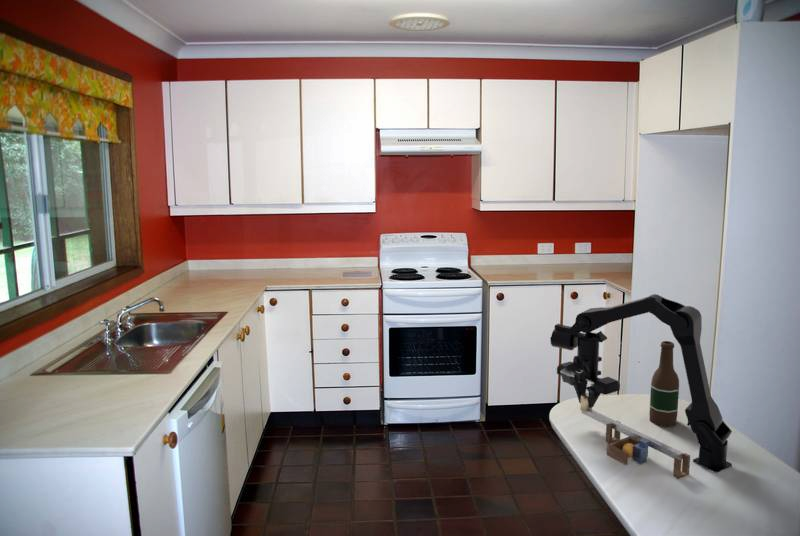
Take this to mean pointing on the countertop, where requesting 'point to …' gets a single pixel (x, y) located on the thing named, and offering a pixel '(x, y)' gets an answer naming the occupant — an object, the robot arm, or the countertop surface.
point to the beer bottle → (664, 389)
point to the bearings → (677, 461)
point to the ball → (628, 449)
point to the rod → (629, 434)
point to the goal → (620, 449)
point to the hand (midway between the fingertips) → (586, 405)
